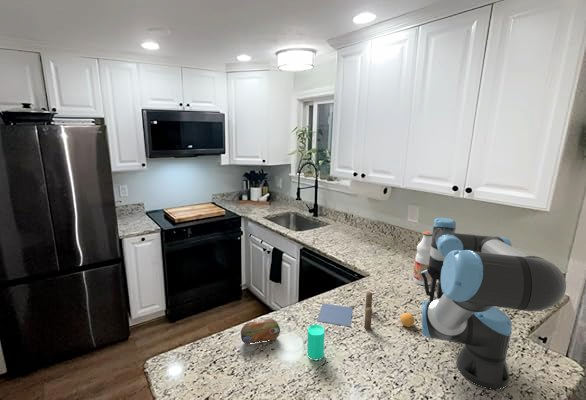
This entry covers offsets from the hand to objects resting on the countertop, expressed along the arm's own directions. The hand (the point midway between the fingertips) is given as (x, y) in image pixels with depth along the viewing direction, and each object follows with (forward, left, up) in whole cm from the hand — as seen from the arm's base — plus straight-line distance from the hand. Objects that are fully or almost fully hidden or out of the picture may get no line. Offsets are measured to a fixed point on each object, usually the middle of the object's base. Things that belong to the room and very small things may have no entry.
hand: (433, 310), depth 124 cm
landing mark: (0, +40, -8) cm, 40 cm away
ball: (0, +10, -6) cm, 11 cm away
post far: (+6, +26, -8) cm, 27 cm away
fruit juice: (+43, -2, -9) cm, 44 cm away
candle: (-27, +44, -9) cm, 52 cm away
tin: (-25, +66, -9) cm, 71 cm away
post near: (-7, +26, -8) cm, 28 cm away
